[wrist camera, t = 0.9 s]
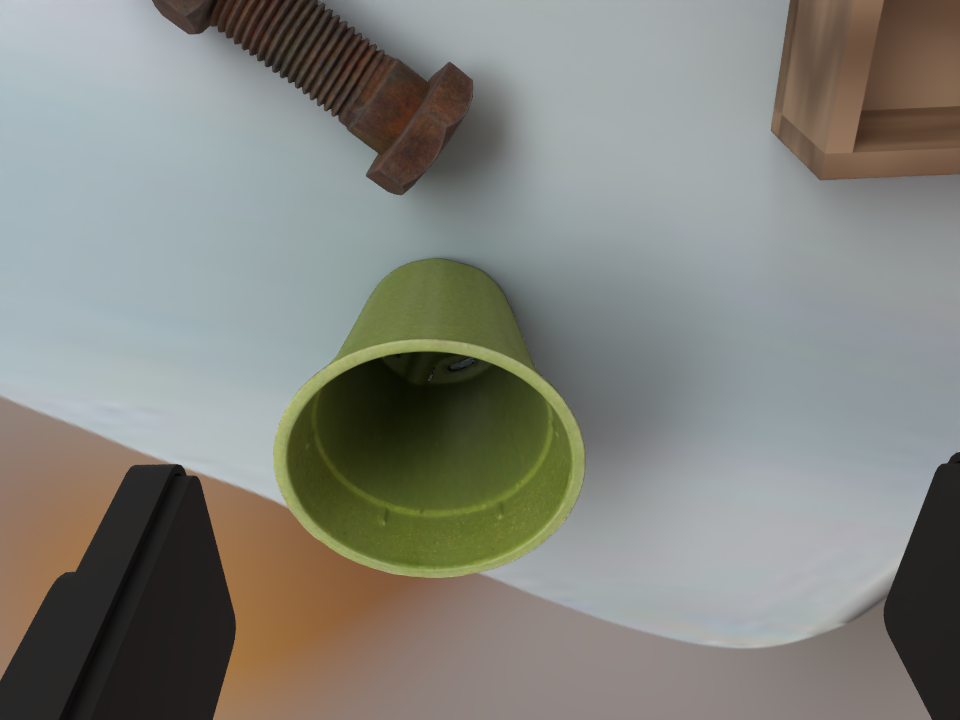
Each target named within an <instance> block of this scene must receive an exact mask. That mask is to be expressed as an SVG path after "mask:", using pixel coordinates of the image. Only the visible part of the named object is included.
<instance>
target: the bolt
mask: <svg viewBox="0 0 960 720" xmlns="http://www.w3.org/2000/svg"><path fill="white" fill-rule="evenodd" d="M152 1H153V3H154V5H155V7H156V8H157V9H158V10H159V12H160V13H161V14H162V15H163V16H164V17H166V18H167V19H168V20H170V21H171V22H172V23H174V24H175V25H177V26H178V27H179V28H181V29H182V30H183V31H185V32H186V33H188V34H200V33H202V32H204V31H205V30H206V29H207V28H208V27H209V26H210V25H211V26H212V27H213V26H218V31H219V32H220V33H221V32H225V31H226V37H227V38H232V37H234V43H235V44H239V43H241V45H242V49H243V50H246V49H249V53H250V55H251V56H253V55H256V54H257V60H258V61H263V60H265V66H266V67H270V66H272V70H273V72H274V73H276V72H278V71H280V77H281V78H284V77H288V83H292V82H294V81H295V87H296V88H297V89H298V88H300V87H302V90H303V94H307V93H309V92H310V100H314V99H316V98H317V105H318V106H320V105H322V104H324V110H325V111H328V110H329V109H332V116H333V117H334V116H336V115H339V121H340V122H341V123H342V124H344V125H345V126H346V127H347V129H348V131H349V132H351V133H352V134H353V135H355V136H356V137H357V138H359V139H360V140H361V141H363V142H364V143H365V144H367V145H368V146H369V147H371V148H372V149H373V150H375V151H376V152H377V153H378V155H377V157H376V158H375V160H374V162H373V164H372V165H371V167H370V169H369V170H368V172H367V174H366V176H367V177H368V178H369V179H371V180H372V181H374V182H375V183H376V184H378V185H379V186H381V187H382V188H383V189H385V190H386V191H388V192H390V193H393V194H397V195H403V194H404V193H405V192H406V191H407V190H409V189H410V188H411V187H412V186H413V185H414V184H415V183H416V182H417V181H418V180H419V178H420V177H421V176H422V175H423V174H424V173H425V172H426V171H427V169H428V168H429V167H430V166H431V165H432V164H433V162H434V161H435V159H436V158H437V156H438V155H439V154H440V152H441V151H442V149H443V148H444V146H445V145H446V144H447V142H448V141H449V139H450V138H451V136H452V135H453V133H454V132H455V130H456V128H457V127H458V125H459V124H460V122H461V121H462V119H463V117H464V116H465V114H466V113H467V111H468V109H469V106H470V104H471V101H472V97H473V81H472V79H471V78H469V77H468V76H467V75H466V74H464V73H463V72H462V71H461V70H460V69H458V68H457V67H456V66H455V65H453V64H452V63H451V62H449V63H447V64H446V65H445V66H444V67H443V68H441V69H440V70H439V71H438V72H437V73H436V74H434V75H433V76H432V77H431V79H430V80H429V81H428V82H427V81H425V80H424V79H423V78H421V77H420V76H419V75H418V74H416V73H415V72H414V71H412V70H411V69H410V68H409V67H407V66H406V65H405V64H403V63H402V62H401V61H399V60H398V59H393V58H392V57H390V56H388V55H385V54H384V51H383V50H379V51H376V48H377V46H376V44H374V45H371V46H369V41H370V40H369V39H368V38H367V39H365V40H361V39H362V34H361V33H359V34H356V35H354V32H355V28H354V27H351V28H348V29H347V23H348V22H346V21H344V22H340V23H339V20H340V16H339V15H336V16H334V17H332V11H333V10H331V9H329V10H326V11H325V4H321V5H317V1H318V0H152Z"/></svg>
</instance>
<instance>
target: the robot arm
mask: <svg viewBox="0 0 960 720" xmlns="http://www.w3.org/2000/svg"><path fill="white" fill-rule="evenodd" d="M884 621H885V626H886V630H887V632H888V635H889V637H890V639H891V641H892V642H893V644H894V646H895V648H896V650H897V652H898V654H899V656H900V658H901V660H902V662H903V664H904V666H905V667H906V670H907V672H908V674H909V675H910V677H911V679H912V681H913V683H914V685H915V687H916V689H917V691H918V693H919V695H920V697H921V699H922V701H923V703H924V705H925V707H926V708H927V710H928V712H929V714H930V716H931V718H932V720H960V452H958V453H955V454H954V455H953V456H952V457H951V458H950V460H949V462H948V463H946V464H941V465H940V466H939V467H938V468H937V470H936V472H935V474H934V477H933V480H932V482H931V485H930V487H929V490H928V493H927V495H926V498H925V501H924V503H923V506H922V508H921V511H920V514H919V516H918V519H917V521H916V524H915V527H914V529H913V532H912V534H911V537H910V540H909V542H908V545H907V547H906V550H905V553H904V555H903V558H902V560H901V563H900V566H899V568H898V571H897V574H896V576H895V579H894V581H893V584H892V587H891V589H890V592H889V594H888V597H887V600H886V602H885V606H884ZM235 631H236V622H235V614H234V610H233V607H232V603H231V599H230V595H229V591H228V587H227V583H226V579H225V575H224V572H223V568H222V564H221V560H220V556H219V552H218V548H217V545H216V540H215V537H214V533H213V529H212V525H211V521H210V517H209V513H208V510H207V506H206V502H205V498H204V494H203V490H202V486H201V483H200V480H199V478H198V477H197V476H187V475H186V473H185V470H184V468H183V467H182V466H181V465H178V464H168V465H134V466H132V467H131V468H130V469H129V471H128V472H127V473H126V475H125V477H124V479H123V481H122V483H121V485H120V487H119V489H118V491H117V493H116V494H115V497H114V498H113V500H112V502H111V504H110V506H109V508H108V510H107V512H106V514H105V516H104V518H103V520H102V522H101V524H100V525H99V528H98V530H97V531H96V533H95V535H94V537H93V539H92V541H91V543H90V545H89V547H88V549H87V551H86V553H85V555H84V556H83V558H82V560H81V562H80V564H79V566H78V568H77V570H76V572H66V573H64V574H63V575H61V576H60V577H59V578H57V580H56V581H55V582H54V584H53V585H52V587H51V588H50V590H49V592H48V593H47V595H46V597H45V599H44V601H43V602H42V604H41V606H40V608H39V610H38V612H37V614H36V615H35V617H34V619H33V621H32V623H31V625H30V627H29V628H28V630H27V632H26V634H25V636H24V638H23V640H22V642H21V643H20V645H19V647H18V649H17V651H16V653H15V655H14V656H13V658H12V660H11V662H10V664H9V666H8V667H7V670H6V671H5V673H4V675H3V677H2V679H1V681H0V720H213V717H214V713H215V709H216V706H217V702H218V699H219V695H220V692H221V687H222V684H223V681H224V677H225V673H226V670H227V667H228V663H229V660H230V656H231V652H232V649H233V645H234V640H235Z"/></svg>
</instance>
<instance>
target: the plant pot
mask: <svg viewBox="0 0 960 720" xmlns="http://www.w3.org/2000/svg"><path fill="white" fill-rule="evenodd" d="M400 353H401V354H400ZM396 354H400V355H399V358H398V357H397V356H396ZM469 357H474V358H475V363H474V364H472V365H470V366H468V367H466V368H464V369H461V370H457V371H450V370H449V369H448V368H449V366H450V365H451V364H453V363H457V362H460V361H462V360H464V359H466V358H469ZM434 367H435V370H434V374H433V377H432V379H431V381H428V379H429V376H430V375H431V372H432V370H433V368H434ZM273 455H274V469H275V475H276V480H277V483H278V486H279V489H280V492H281V494H282V496H283V498H284V500H285V502H286V504H287V506H288V507H289V509H290V511H291V512H292V513H293V514H294V515H295V517H296V518H297V519H298V521H299V522H300V523H301V524H302V525H303V526H304V528H305V529H306V530H307V531H308V532H309V533H310V534H311V535H312V536H314V537H315V538H316V539H318V540H319V541H321V542H323V543H324V544H326V545H327V546H328V547H329V548H331V549H332V550H334V551H336V552H337V553H339V554H340V555H342V556H344V557H346V558H348V559H351V560H353V561H355V562H357V563H359V564H363V565H366V566H369V567H371V568H374V569H377V570H381V571H385V572H387V573H392V574H397V575H406V576H415V577H430V578H444V577H456V576H462V575H467V574H471V573H477V572H482V571H487V570H491V569H494V568H497V567H499V566H502V565H504V564H507V563H509V562H512V561H514V560H516V559H518V558H520V557H522V556H524V555H525V554H527V553H529V552H530V551H532V550H533V549H535V548H536V547H538V546H539V545H540V544H541V543H543V542H544V541H545V540H546V539H547V538H548V537H549V536H551V535H552V534H553V533H554V532H555V531H556V530H557V529H558V528H559V527H560V526H561V524H562V523H563V522H564V521H565V519H566V518H567V516H568V515H569V513H570V512H571V510H572V508H573V506H574V505H575V503H576V500H577V498H578V496H579V493H580V491H581V488H582V484H583V480H584V474H585V447H584V442H583V438H582V434H581V431H580V428H579V425H578V423H577V421H576V419H575V417H574V415H573V413H572V411H571V410H570V408H569V406H568V405H567V403H566V402H565V401H564V399H563V398H562V396H561V395H560V394H559V393H558V392H557V390H556V389H555V388H554V387H553V386H552V385H551V384H550V383H549V382H548V381H546V380H545V379H544V378H543V377H542V376H541V375H540V373H539V372H538V371H537V370H536V368H535V366H534V364H533V361H532V359H531V356H530V354H529V352H528V349H527V347H526V344H525V342H524V339H523V337H522V334H521V332H520V330H519V327H518V325H517V322H516V320H515V318H514V315H513V313H512V311H511V308H510V306H509V303H508V301H507V299H506V297H505V295H504V293H503V292H502V290H501V289H500V288H499V286H498V285H497V284H496V283H495V282H494V281H493V280H492V279H491V278H490V277H489V276H488V275H486V274H485V273H484V272H482V271H481V270H479V269H477V268H475V267H473V266H468V265H465V264H461V263H457V262H453V261H450V260H445V259H427V260H421V261H416V262H412V263H409V264H406V265H404V266H401V267H399V268H398V269H396V270H394V271H393V272H391V273H390V274H389V275H388V276H386V277H385V278H384V279H383V280H382V281H381V282H380V283H379V285H378V286H377V287H376V288H375V290H374V291H373V293H372V294H371V296H370V297H369V299H368V301H367V303H366V305H365V306H364V308H363V310H362V312H361V314H360V315H359V317H358V319H357V321H356V323H355V325H354V326H353V328H352V330H351V332H350V334H349V335H348V337H347V339H346V341H345V342H344V344H343V346H342V348H341V350H340V351H339V353H338V355H337V357H336V358H335V359H334V360H333V361H332V362H331V363H330V364H329V365H328V366H326V367H325V368H323V369H322V370H321V371H319V372H318V373H317V374H315V375H314V376H313V377H312V378H311V379H310V380H309V381H308V382H307V383H306V384H305V385H304V386H303V387H302V388H301V389H300V390H299V391H298V392H297V393H296V395H295V396H294V398H293V399H292V401H291V402H290V403H289V405H288V406H287V408H286V410H285V412H284V414H283V416H282V418H281V420H280V423H279V426H278V429H277V433H276V436H275V443H274V453H273Z"/></svg>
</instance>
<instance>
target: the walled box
mask: <svg viewBox="0 0 960 720" xmlns="http://www.w3.org/2000/svg"><path fill="white" fill-rule="evenodd" d="M771 131H772V132H773V133H774V134H775V135H776V136H777V137H778V138H779V139H780V140H781V141H782V142H783V143H784V144H785V145H786V146H787V147H788V148H789V149H790V150H791V151H792V152H793V153H794V154H795V155H796V156H797V157H798V158H799V159H800V160H801V161H802V162H803V163H804V164H805V165H806V166H807V167H808V168H809V169H810V170H811V171H812V172H813V173H814V174H815V175H816V176H817V177H818V178H819V179H820V180H834V179H857V178H879V177H902V176H925V175H948V174H960V0H790V5H789V12H788V19H787V26H786V32H785V39H784V46H783V52H782V59H781V66H780V73H779V79H778V86H777V93H776V99H775V106H774V113H773V120H772V126H771Z"/></svg>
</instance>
